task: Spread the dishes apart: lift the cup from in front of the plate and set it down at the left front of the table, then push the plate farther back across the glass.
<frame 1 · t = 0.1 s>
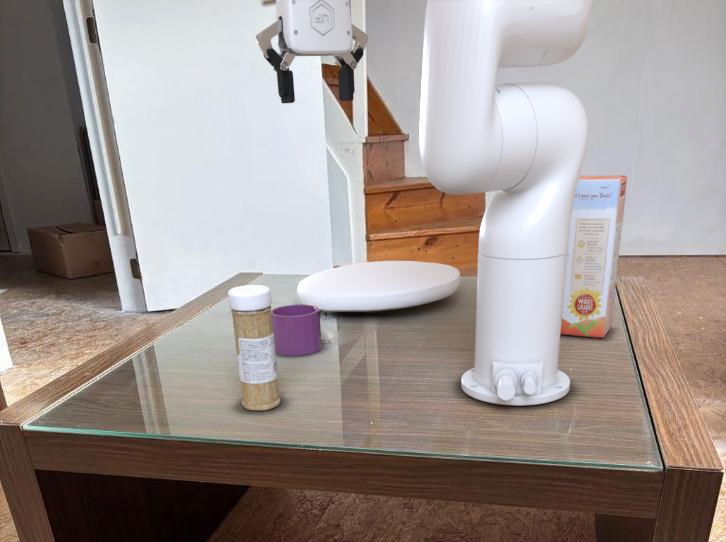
hand: (317, 101, 106), 31 cm above the table, tool pointing down, fingers open, 9 cm apart
cracker box: (558, 331, 107), on the table
cup: (297, 348, 104), on the table
spice jar: (262, 406, 85), on the table
plate: (378, 303, 126), on the table
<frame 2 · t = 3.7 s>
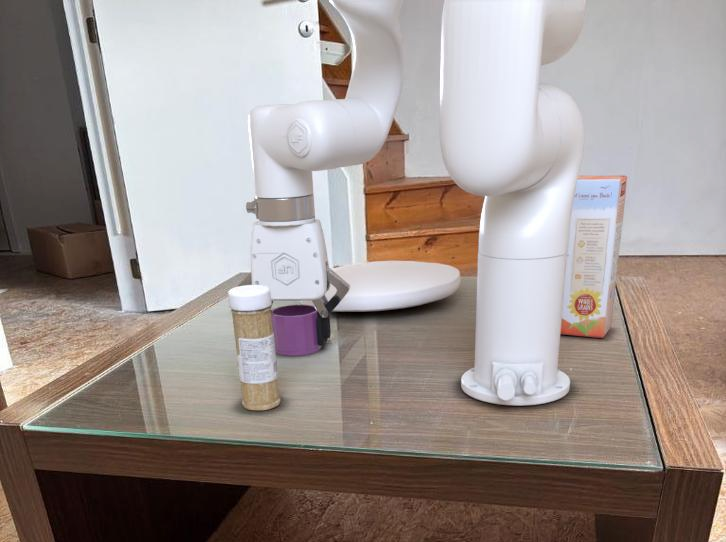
hand: (297, 342, 103), 1 cm above the table, tool pointing down, fingers closed on cup, 6 cm apart
cup: (297, 348, 104), on the table, touching gripper
everything else where it was.
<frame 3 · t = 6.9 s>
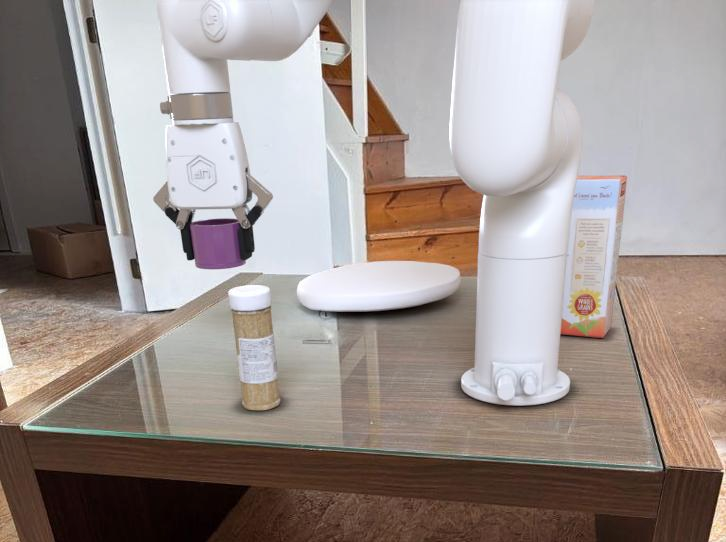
hand: (219, 257, 99), 13 cm above the table, tool pointing down, fingers closed on cup, 6 cm apart
cup: (220, 264, 99), point 12 cm above the table, touching gripper
everything else where it was.
when the fingers open (1 cm above the table, at t = 10.1 s): cup stays where it is, on the table.
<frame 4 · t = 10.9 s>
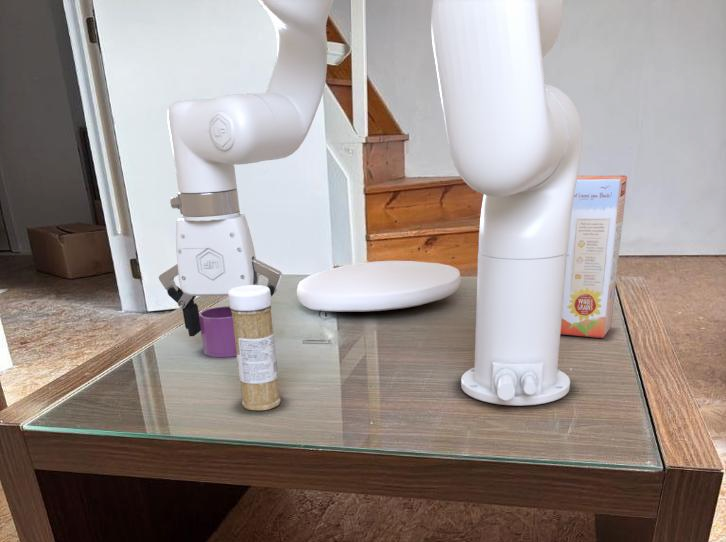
hand: (227, 333, 103), 2 cm above the table, tool pointing down, fingers open, 9 cm apart
cup: (228, 350, 105), on the table
everything else where it was.
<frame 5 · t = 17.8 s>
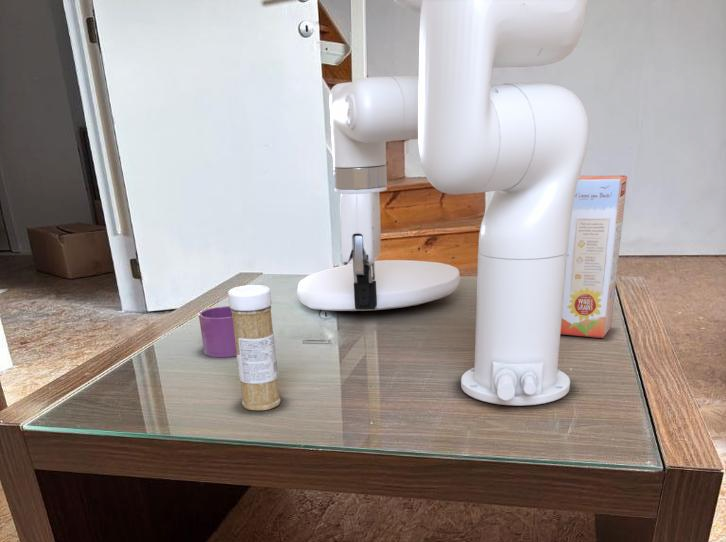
hand: (365, 307, 113), 3 cm above the table, tool pointing down, fingers closed
plate: (378, 302, 127), on the table, touching gripper
everything else where it was.
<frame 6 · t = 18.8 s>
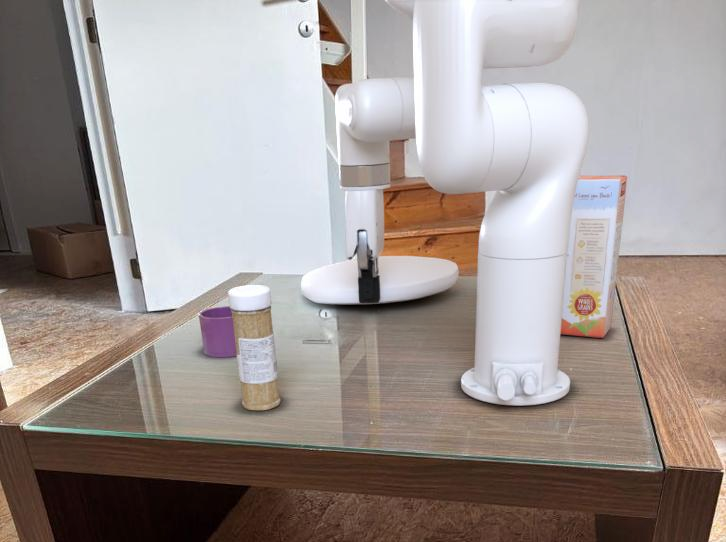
hand: (369, 301, 116), 3 cm above the table, tool pointing down, fingers closed
plate: (380, 297, 131), on the table, touching gripper
everything else where it was.
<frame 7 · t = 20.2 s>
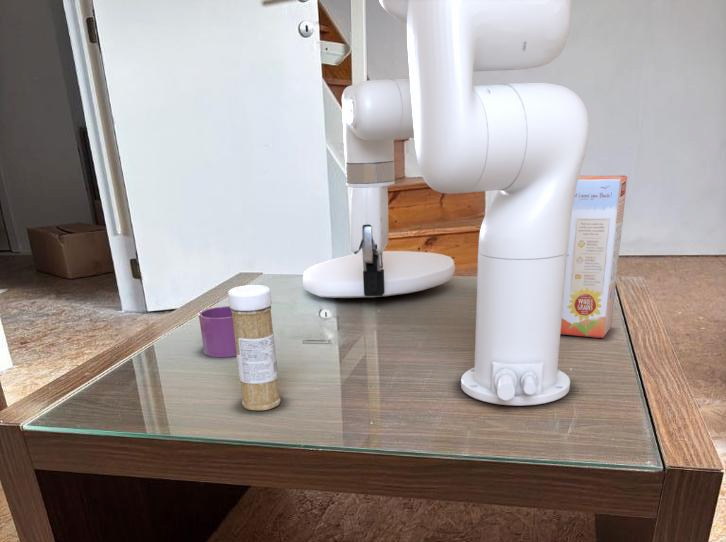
hand: (374, 294, 120), 3 cm above the table, tool pointing down, fingers closed
plate: (379, 291, 135), on the table, touching gripper
everything else where it was.
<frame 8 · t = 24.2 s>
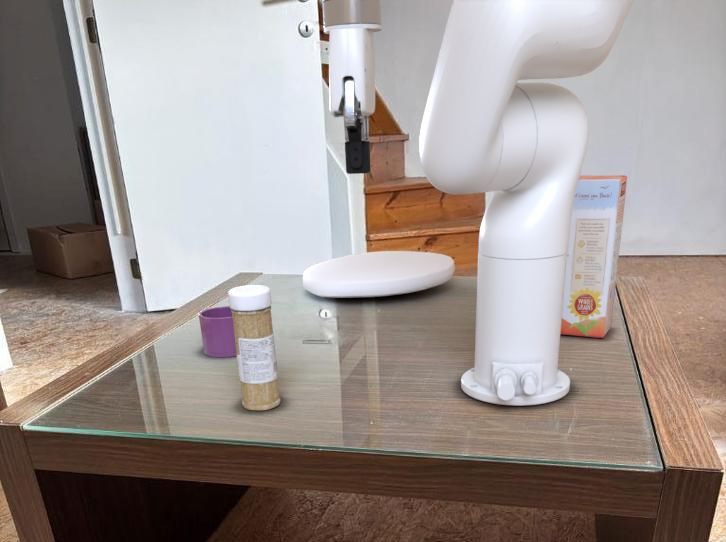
hand: (358, 172, 102), 22 cm above the table, tool pointing down, fingers closed
plate: (379, 290, 135), on the table
everything else where it was.
at the end: cup inside the target area (0.1 cm from its centre), on the table; cup tilted 0°; plate moved 9.9 cm from its start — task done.
